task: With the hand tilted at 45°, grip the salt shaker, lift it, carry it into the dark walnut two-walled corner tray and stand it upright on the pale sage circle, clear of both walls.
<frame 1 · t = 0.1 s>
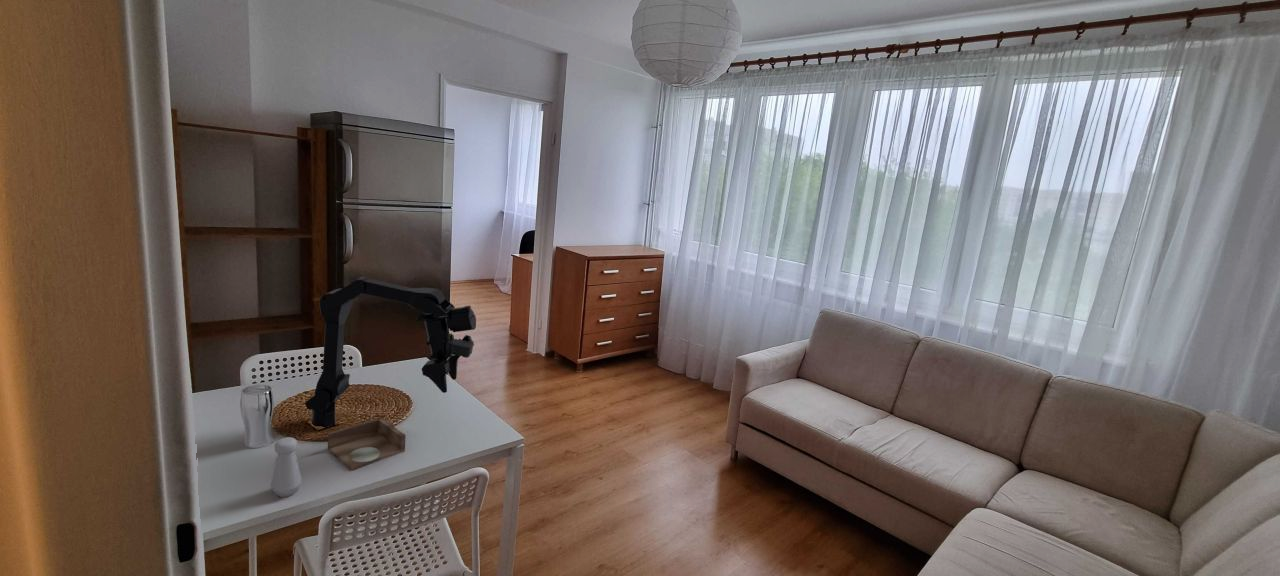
hand: (449, 385, 150), 15 cm above the table, tool pointing down, fingers open, 9 cm apart
salt shaker: (286, 492, 121), on the table
corner tray: (366, 450, 140), on the table
beer glass: (258, 442, 138), on the table
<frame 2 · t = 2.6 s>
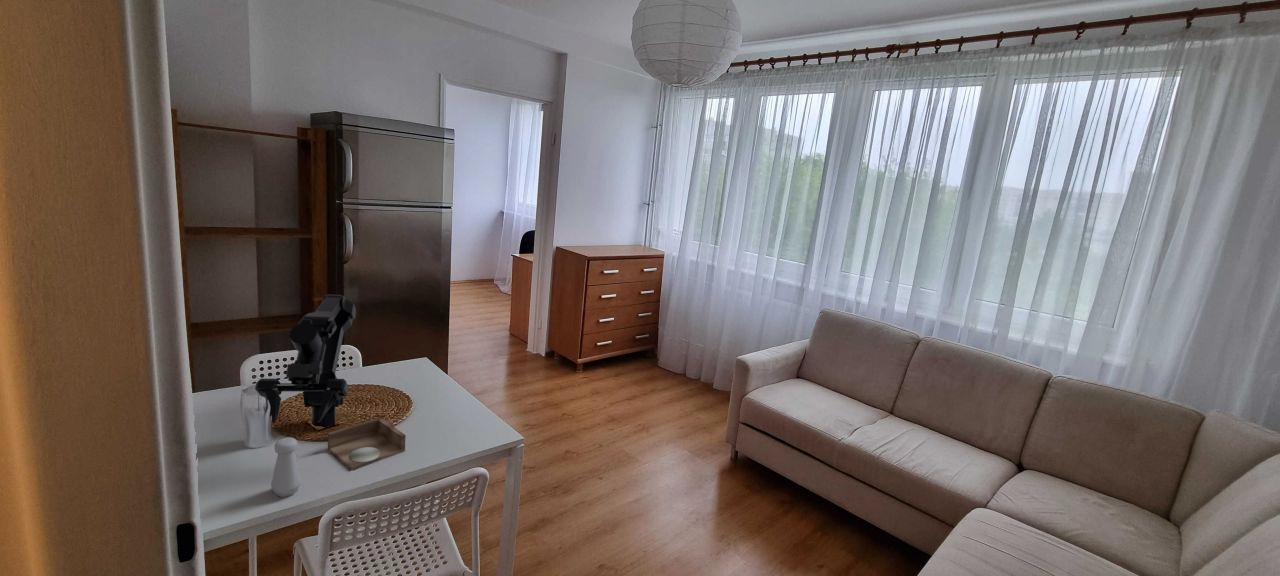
hand: (296, 422, 125), 14 cm above the table, tool tilted 45°, fingers open, 9 cm apart
nothing on the table moved.
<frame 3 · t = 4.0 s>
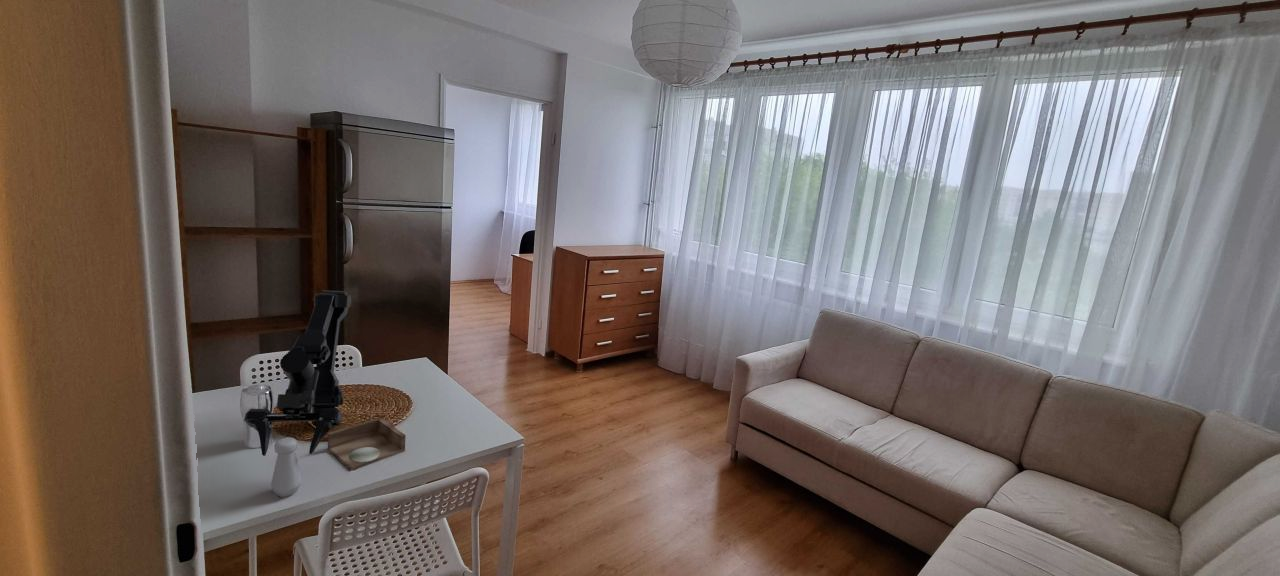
hand: (287, 454, 119), 9 cm above the table, tool tilted 45°, fingers open, 9 cm apart
nothing on the table moved.
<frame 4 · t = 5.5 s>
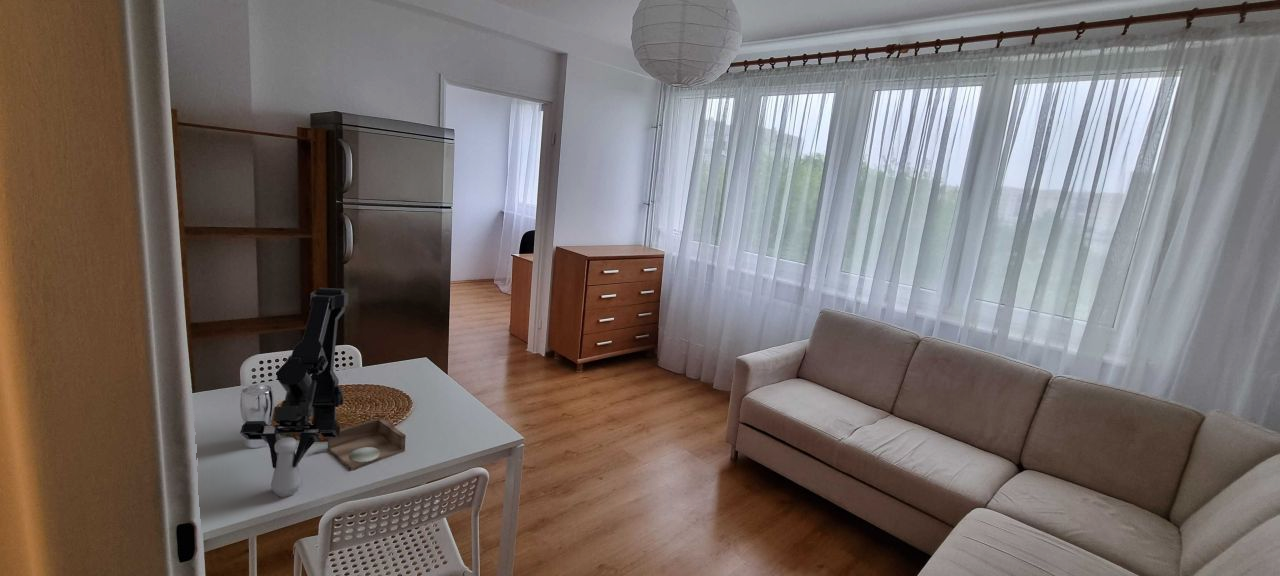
hand: (284, 467, 118), 7 cm above the table, tool tilted 45°, fingers closed on salt shaker, 3 cm apart
salt shaker: (286, 492, 121), on the table, touching gripper
everything else where it was.
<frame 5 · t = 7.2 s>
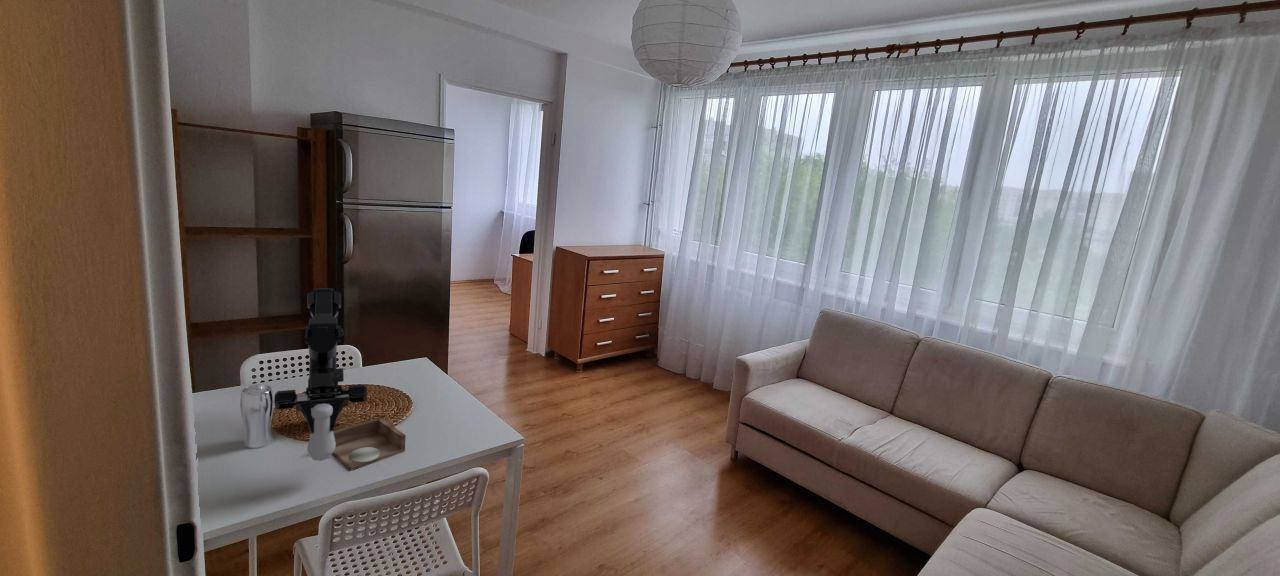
hand: (322, 431, 122), 13 cm above the table, tool tilted 45°, fingers closed on salt shaker, 3 cm apart
salt shaker: (321, 456, 125), point 6 cm above the table, touching gripper
everything else where it was.
when the fingers open (9 cm above the table, at t = 9.4 s): salt shaker stays where it is, resting on corner tray.
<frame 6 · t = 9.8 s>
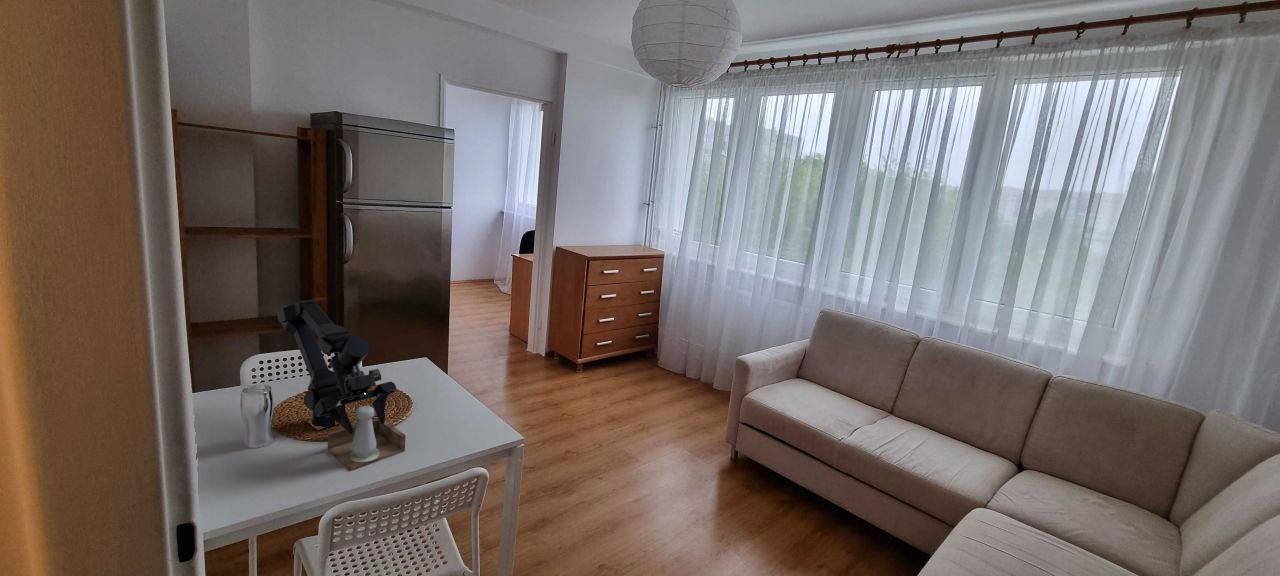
hand: (368, 428, 134), 9 cm above the table, tool tilted 45°, fingers open, 8 cm apart
salt shaker: (363, 454, 137), point 1 cm above the table, touching corner tray
everything else where it was.
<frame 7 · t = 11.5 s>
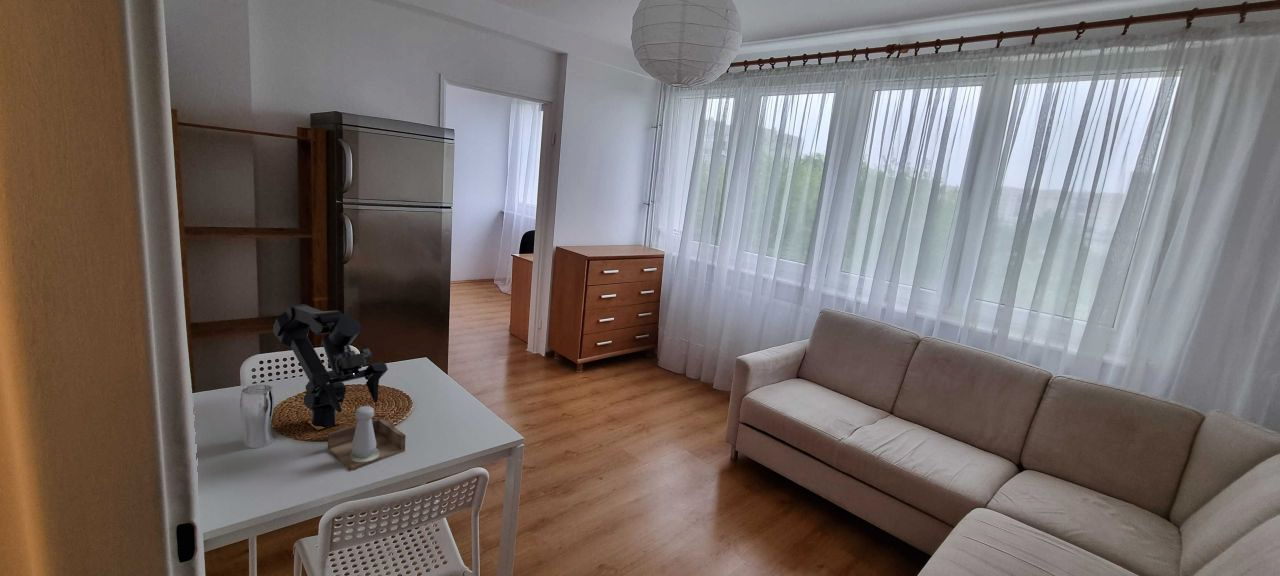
hand: (359, 406, 136), 13 cm above the table, tool tilted 45°, fingers open, 9 cm apart
nothing on the table moved.
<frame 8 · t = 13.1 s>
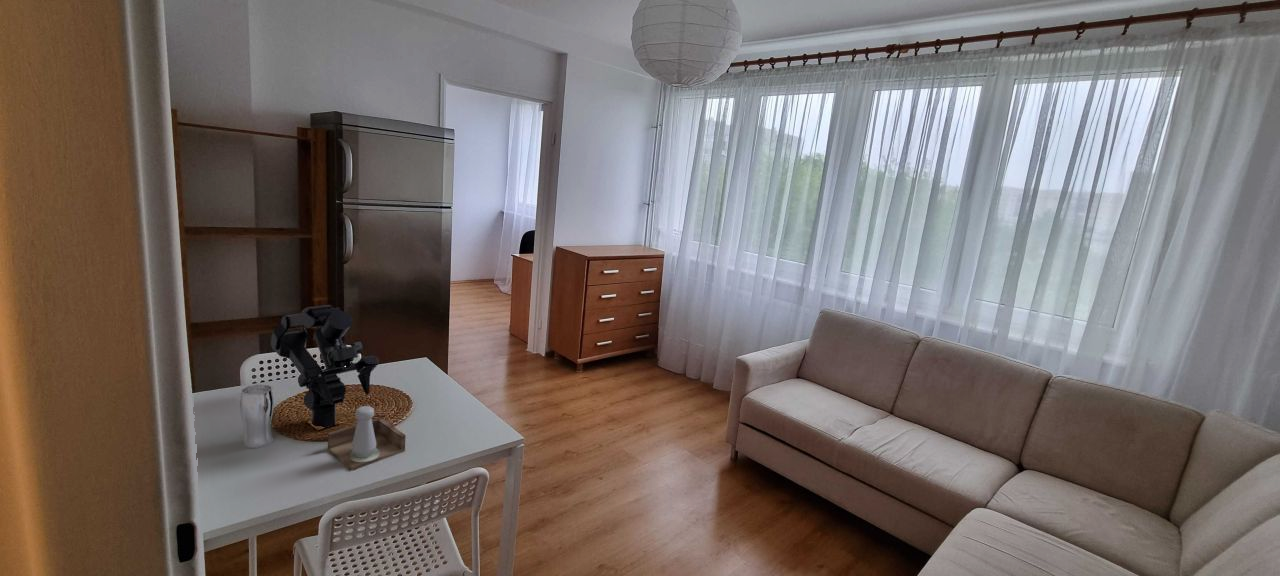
hand: (350, 398, 139), 14 cm above the table, tool tilted 45°, fingers open, 9 cm apart
nothing on the table moved.
at the end: salt shaker 0.9 cm from the target spot on the corner tray, point 0.8 cm above the corner tray's base; salt shaker tilted 0°; the gripper is holding nothing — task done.
